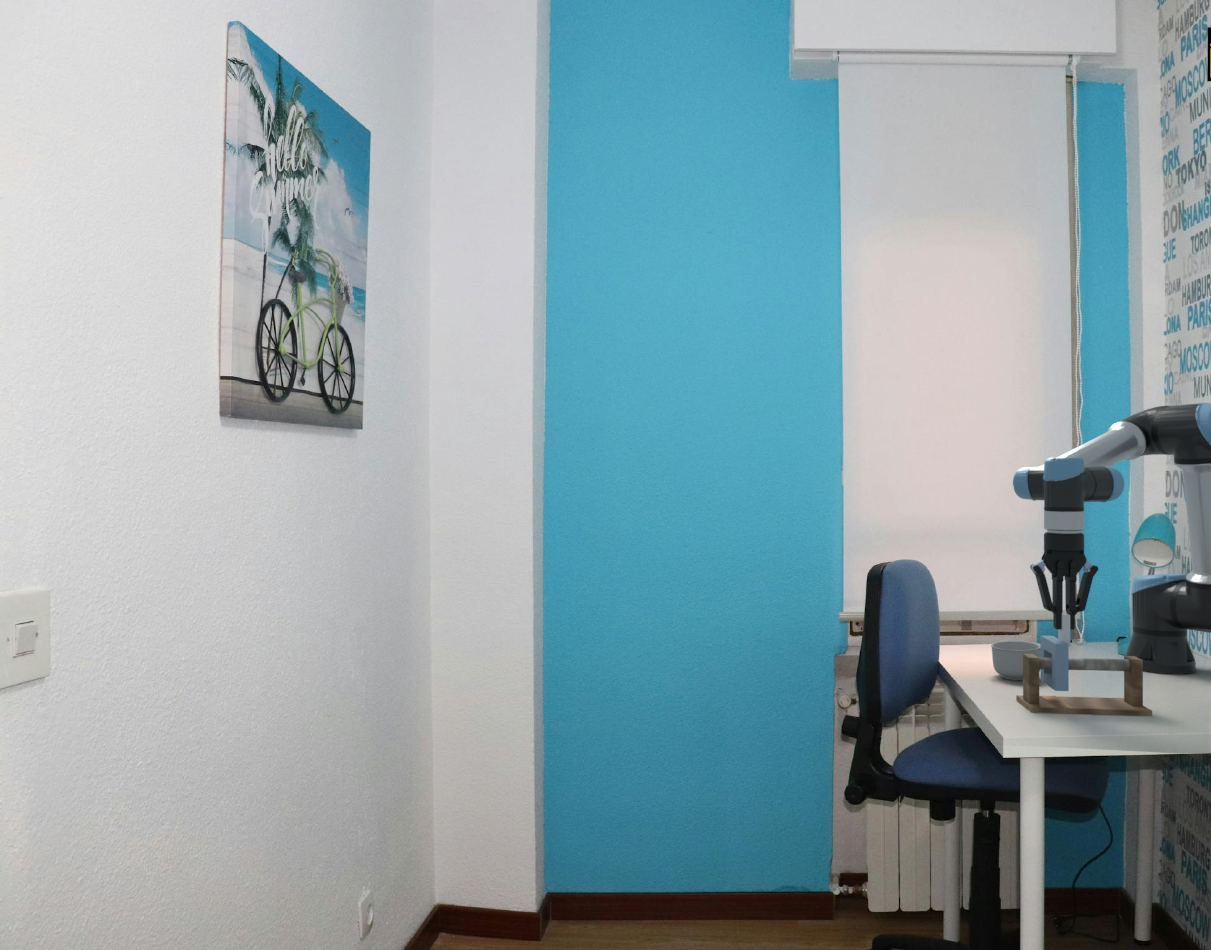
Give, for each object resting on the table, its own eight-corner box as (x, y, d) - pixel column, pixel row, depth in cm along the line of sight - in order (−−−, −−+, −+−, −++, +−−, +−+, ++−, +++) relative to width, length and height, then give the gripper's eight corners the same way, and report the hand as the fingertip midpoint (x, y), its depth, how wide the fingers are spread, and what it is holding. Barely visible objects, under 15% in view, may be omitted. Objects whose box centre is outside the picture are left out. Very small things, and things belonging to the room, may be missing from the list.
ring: (1052, 680, 198) (1052, 635, 197) (1068, 691, 188) (1068, 644, 188) (1040, 680, 198) (1040, 635, 198) (1055, 691, 189) (1055, 643, 189)
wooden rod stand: (1130, 703, 196) (1130, 653, 196) (1152, 715, 186) (1152, 663, 186) (1016, 700, 199) (1016, 651, 199) (1031, 712, 189) (1031, 660, 189)
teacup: (1046, 684, 214) (1046, 649, 214) (996, 682, 216) (996, 647, 216) (1031, 671, 227) (1031, 638, 227) (984, 669, 229) (984, 637, 229)
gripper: (1090, 530, 195) (1090, 642, 196) (1025, 530, 197) (1025, 641, 197) (1104, 533, 188) (1104, 649, 188) (1036, 532, 190) (1037, 648, 190)
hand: (1064, 645), depth 193 cm, fingers closed
